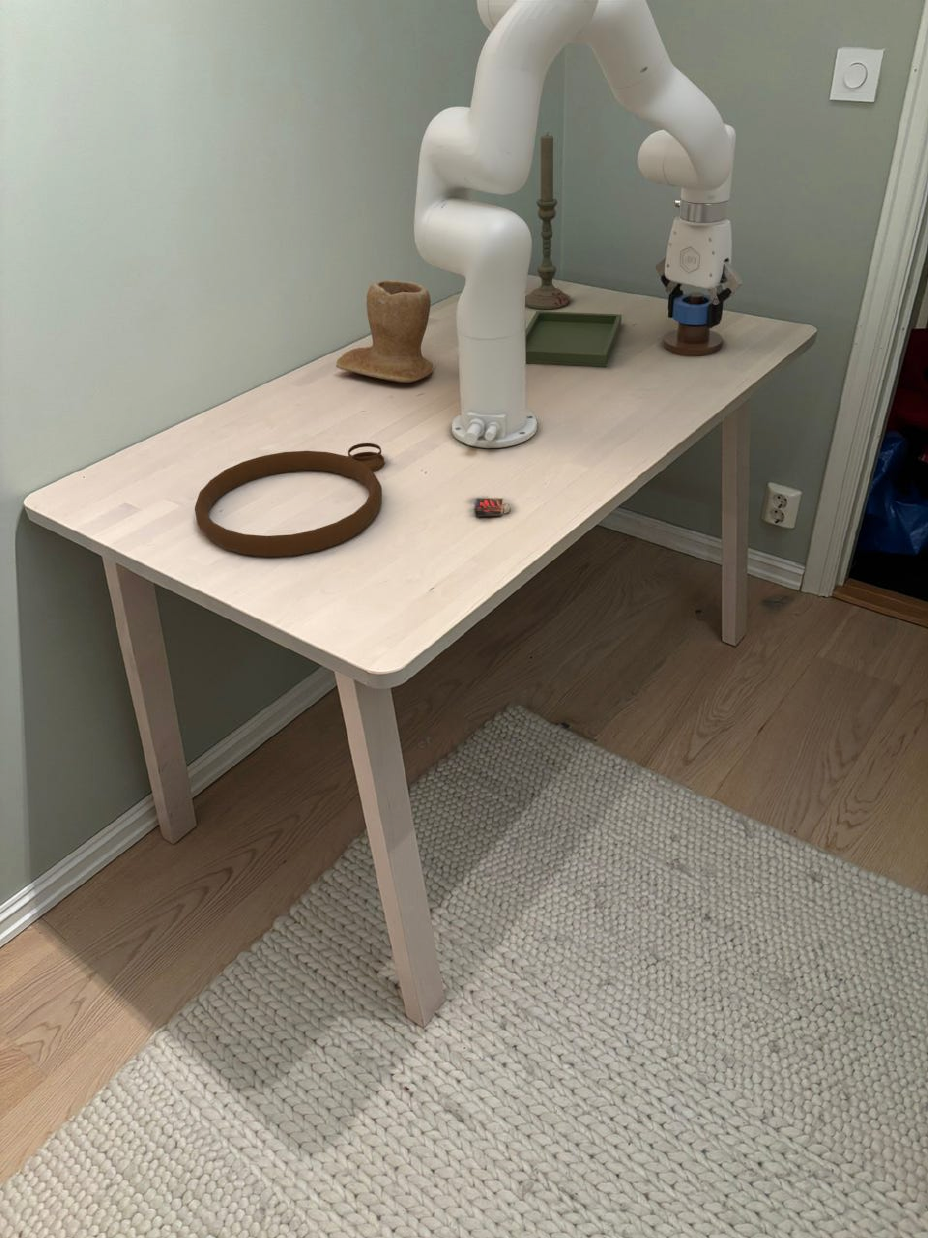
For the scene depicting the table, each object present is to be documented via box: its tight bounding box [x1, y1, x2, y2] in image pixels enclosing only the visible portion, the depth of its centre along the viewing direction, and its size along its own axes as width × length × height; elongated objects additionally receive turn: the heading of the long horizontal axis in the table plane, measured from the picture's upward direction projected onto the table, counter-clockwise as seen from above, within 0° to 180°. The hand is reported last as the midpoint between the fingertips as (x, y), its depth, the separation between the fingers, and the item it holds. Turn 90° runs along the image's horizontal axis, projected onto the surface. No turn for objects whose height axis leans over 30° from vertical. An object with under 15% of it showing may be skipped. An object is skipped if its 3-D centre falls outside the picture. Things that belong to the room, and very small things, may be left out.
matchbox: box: [473, 496, 511, 517], centre depth 130 cm, size 5×5×1 cm
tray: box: [525, 310, 623, 368], centre depth 175 cm, size 20×16×2 cm
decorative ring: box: [194, 442, 386, 558], centre depth 133 cm, size 24×3×30 cm
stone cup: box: [335, 279, 435, 384], centre depth 165 cm, size 15×12×15 cm
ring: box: [672, 293, 712, 325], centre depth 169 cm, size 7×7×3 cm
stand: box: [662, 291, 724, 357], centre depth 170 cm, size 10×10×9 cm
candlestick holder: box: [525, 131, 571, 311], centre depth 185 cm, size 9×9×30 cm
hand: (693, 319), depth 170 cm, fingers closed on ring, 7 cm apart
